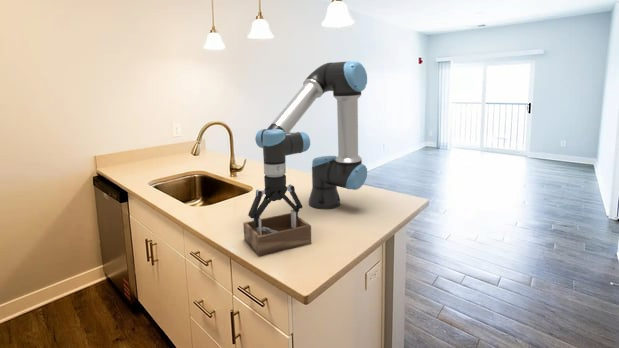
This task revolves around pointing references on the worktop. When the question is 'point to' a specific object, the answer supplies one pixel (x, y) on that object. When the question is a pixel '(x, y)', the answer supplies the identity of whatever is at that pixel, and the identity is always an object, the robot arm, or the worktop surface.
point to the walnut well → (277, 235)
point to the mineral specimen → (267, 230)
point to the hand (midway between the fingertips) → (276, 231)
